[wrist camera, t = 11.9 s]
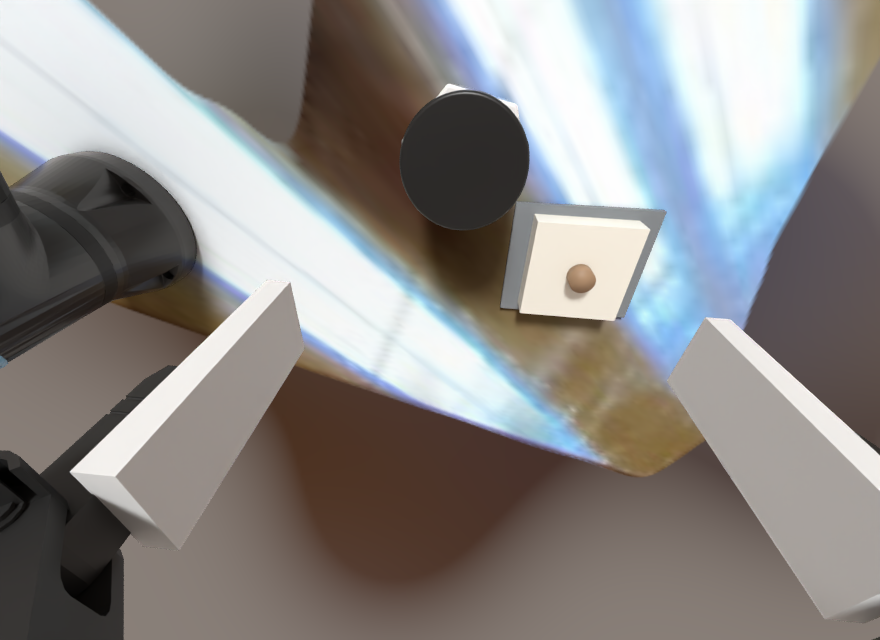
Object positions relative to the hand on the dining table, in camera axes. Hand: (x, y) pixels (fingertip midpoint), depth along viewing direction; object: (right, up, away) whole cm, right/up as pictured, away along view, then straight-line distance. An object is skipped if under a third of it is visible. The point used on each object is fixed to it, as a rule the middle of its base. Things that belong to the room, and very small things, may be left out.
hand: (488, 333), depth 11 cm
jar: (+1, +17, +20) cm, 26 cm away
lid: (+12, +6, +25) cm, 28 cm away
